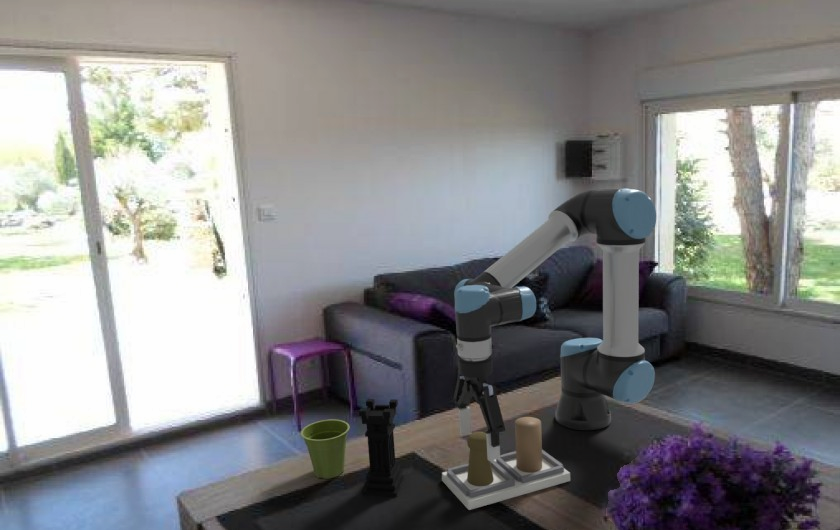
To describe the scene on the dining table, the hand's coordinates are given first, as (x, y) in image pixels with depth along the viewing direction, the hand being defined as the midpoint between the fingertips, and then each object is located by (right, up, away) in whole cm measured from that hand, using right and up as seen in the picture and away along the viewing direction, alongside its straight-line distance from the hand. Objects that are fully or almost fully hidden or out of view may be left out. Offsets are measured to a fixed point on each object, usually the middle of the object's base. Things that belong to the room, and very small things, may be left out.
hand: (479, 446), depth 138 cm
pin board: (+6, -9, +4) cm, 12 cm away
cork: (0, -8, +1) cm, 8 cm away
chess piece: (-22, -11, +5) cm, 25 cm away
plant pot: (-36, -10, +13) cm, 39 cm away
